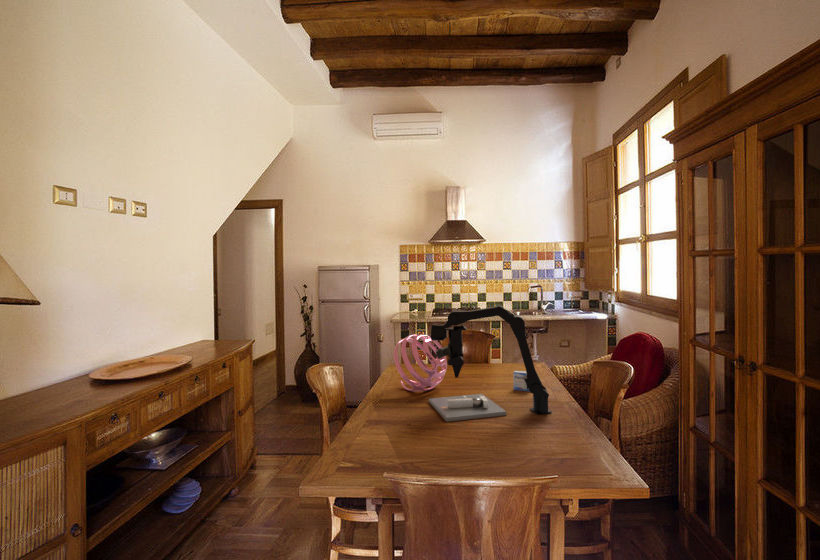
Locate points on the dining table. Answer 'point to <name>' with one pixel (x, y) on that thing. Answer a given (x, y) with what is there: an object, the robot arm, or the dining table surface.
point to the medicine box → (519, 381)
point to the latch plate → (465, 409)
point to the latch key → (468, 402)
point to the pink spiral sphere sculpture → (421, 363)
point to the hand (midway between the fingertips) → (456, 377)
